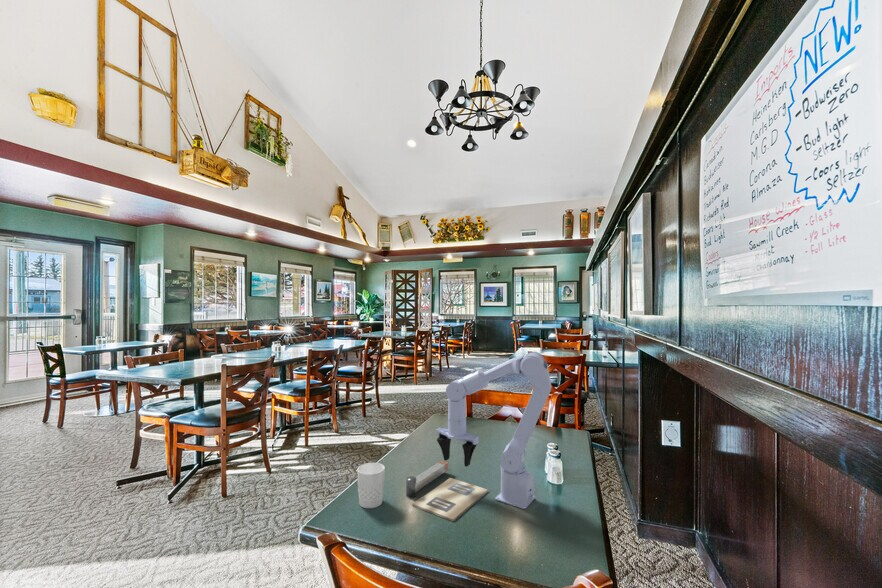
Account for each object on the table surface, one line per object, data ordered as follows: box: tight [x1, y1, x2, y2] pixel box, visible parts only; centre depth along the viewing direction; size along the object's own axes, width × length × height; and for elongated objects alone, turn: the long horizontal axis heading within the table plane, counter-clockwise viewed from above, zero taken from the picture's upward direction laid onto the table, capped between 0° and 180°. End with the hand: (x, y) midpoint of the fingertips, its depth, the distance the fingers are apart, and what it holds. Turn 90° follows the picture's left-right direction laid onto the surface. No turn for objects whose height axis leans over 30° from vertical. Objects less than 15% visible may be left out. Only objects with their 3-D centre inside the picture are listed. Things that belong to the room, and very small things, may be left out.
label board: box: [411, 477, 489, 522], centre depth 117 cm, size 14×20×1 cm
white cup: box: [357, 462, 386, 509], centre depth 115 cm, size 8×8×10 cm
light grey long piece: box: [405, 459, 450, 498], centre depth 126 cm, size 20×3×5 cm, turn 147°
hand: (456, 462), depth 123 cm, fingers open, 7 cm apart
